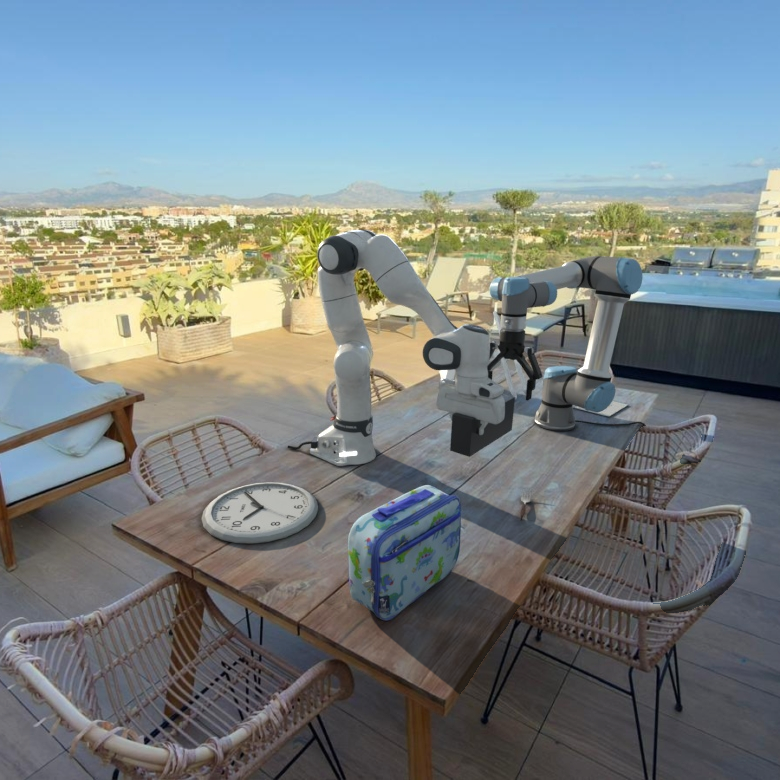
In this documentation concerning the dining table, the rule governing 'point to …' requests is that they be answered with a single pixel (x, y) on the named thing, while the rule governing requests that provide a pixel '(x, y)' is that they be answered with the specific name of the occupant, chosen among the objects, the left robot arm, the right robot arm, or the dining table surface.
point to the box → (465, 431)
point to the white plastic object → (452, 373)
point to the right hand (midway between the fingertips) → (508, 395)
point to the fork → (525, 500)
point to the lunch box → (403, 549)
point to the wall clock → (259, 513)
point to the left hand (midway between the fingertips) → (467, 430)
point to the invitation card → (608, 409)
